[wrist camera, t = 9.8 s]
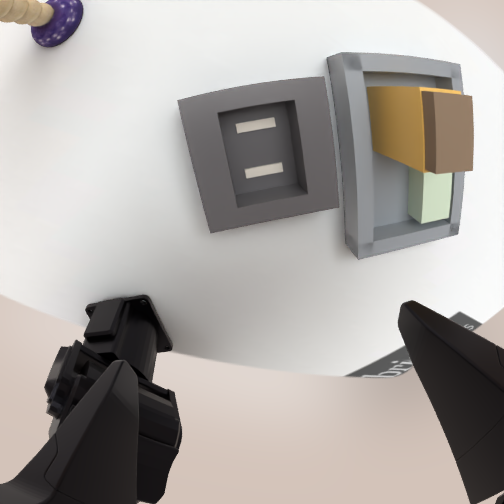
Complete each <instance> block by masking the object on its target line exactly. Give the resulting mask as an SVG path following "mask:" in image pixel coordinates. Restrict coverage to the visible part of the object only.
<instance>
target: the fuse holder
mask: <svg viewBox="0 0 504 504" xmlns="http://www.w3.org/2000/svg"><path fill="white" fill-rule="evenodd" d="M177 101H178V105H179V109H180V114H181V118H182V123H183V127H184V131H185V135H186V139H187V144H188V148H189V152H190V156H191V160H192V164H193V168H194V172H195V176H196V180H197V184H198V188H199V192H200V196H201V199H202V203H203V207H204V211H205V215H206V218H207V222H208V226H209V230H210V233H214V232H219V231H223V230H228V229H233V228H238V227H242V226H247V225H252V224H257V223H262V222H267V221H271V220H276V219H281V218H286V217H292V216H297V215H302V214H307V213H312V212H317V211H323V210H328V209H333V208H339V197H338V183H337V171H336V161H335V151H334V142H333V133H332V125H331V117H330V110H329V103H328V96H327V90H326V84H325V78H324V76H323V77H309V78H297V79H288V80H279V81H272V82H264V83H258V84H251V85H245V86H240V87H234V88H229V89H224V90H219V91H214V92H210V93H205V94H201V95H197V96H193V97H189V98H185V99H181V100H177Z"/></svg>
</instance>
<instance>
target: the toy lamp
mask: <svg viewBox="0 0 504 504" xmlns="http://www.w3.org/2000/svg"><path fill="white" fill-rule="evenodd" d="M82 14H83V5H82V3H81V1H80V0H49V1H47V2H46V3H39V2H38V1H37V0H0V21H2V22H16V23H17V24H29V25H31V33H32V37H33V39H34V40H35V41H36V42H37V43H38V44H39V45H41V46H44V47H53V46H56V45H58V44H60V43H62V42H63V41H65V40H66V39H67V38H68V37H69V36H70V35H71V34H72V33H73V32H74V31H75V29H76V28H77V27H78V24H79V23H80V20H81V18H82Z"/></svg>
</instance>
